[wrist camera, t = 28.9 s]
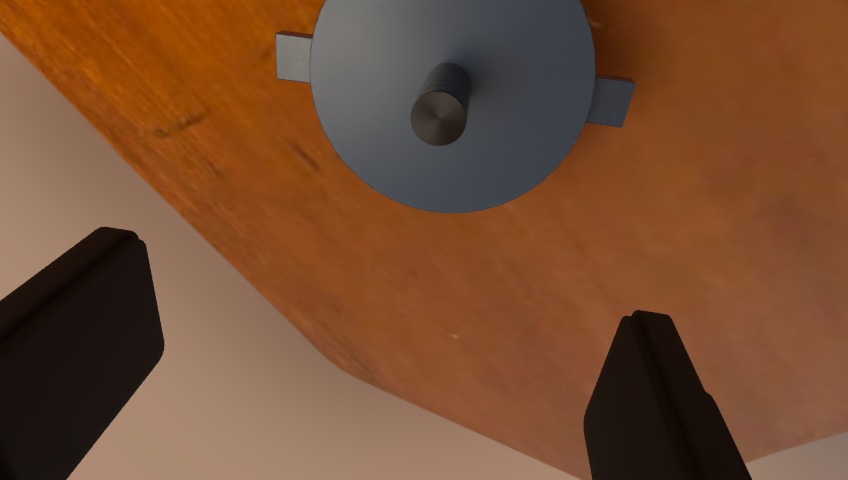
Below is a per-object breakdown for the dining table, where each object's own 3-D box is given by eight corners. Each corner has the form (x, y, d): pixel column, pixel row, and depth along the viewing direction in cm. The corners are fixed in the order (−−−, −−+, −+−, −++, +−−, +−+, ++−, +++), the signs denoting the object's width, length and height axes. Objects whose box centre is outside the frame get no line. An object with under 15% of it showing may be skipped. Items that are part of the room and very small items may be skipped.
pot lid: (315, -98, 25) (261, -108, 19) (630, -58, 24) (672, -56, 18) (314, 186, 32) (276, 240, 26) (554, 222, 31) (567, 285, 26)
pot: (307, -88, 30) (265, -92, 24) (643, -45, 29) (679, -40, 24) (308, 140, 37) (275, 176, 31) (579, 179, 36) (595, 224, 30)
